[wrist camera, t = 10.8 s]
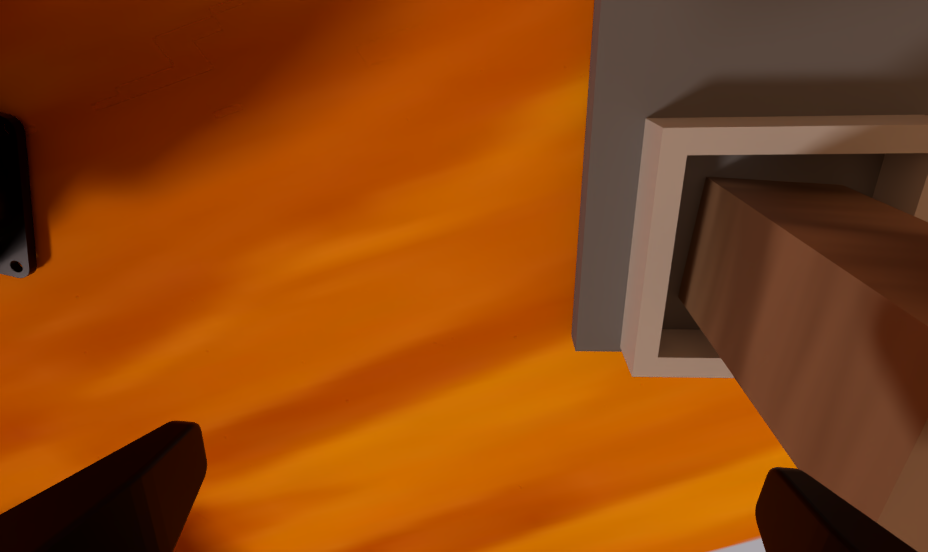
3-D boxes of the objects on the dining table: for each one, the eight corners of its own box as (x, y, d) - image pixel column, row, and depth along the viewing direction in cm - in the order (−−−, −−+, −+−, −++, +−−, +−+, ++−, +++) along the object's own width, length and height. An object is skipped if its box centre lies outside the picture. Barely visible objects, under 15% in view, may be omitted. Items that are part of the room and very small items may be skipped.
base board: (624, -437, 14) (676, -624, 10) (1140, -472, 13) (1414, -686, 9) (571, 335, 22) (587, 397, 19) (875, 337, 22) (956, 402, 18)
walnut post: (678, 296, 20) (859, 557, 10) (705, 176, 18) (962, 349, 8) (801, 304, 20) (1108, 576, 10) (842, 184, 18) (1268, 370, 8)
